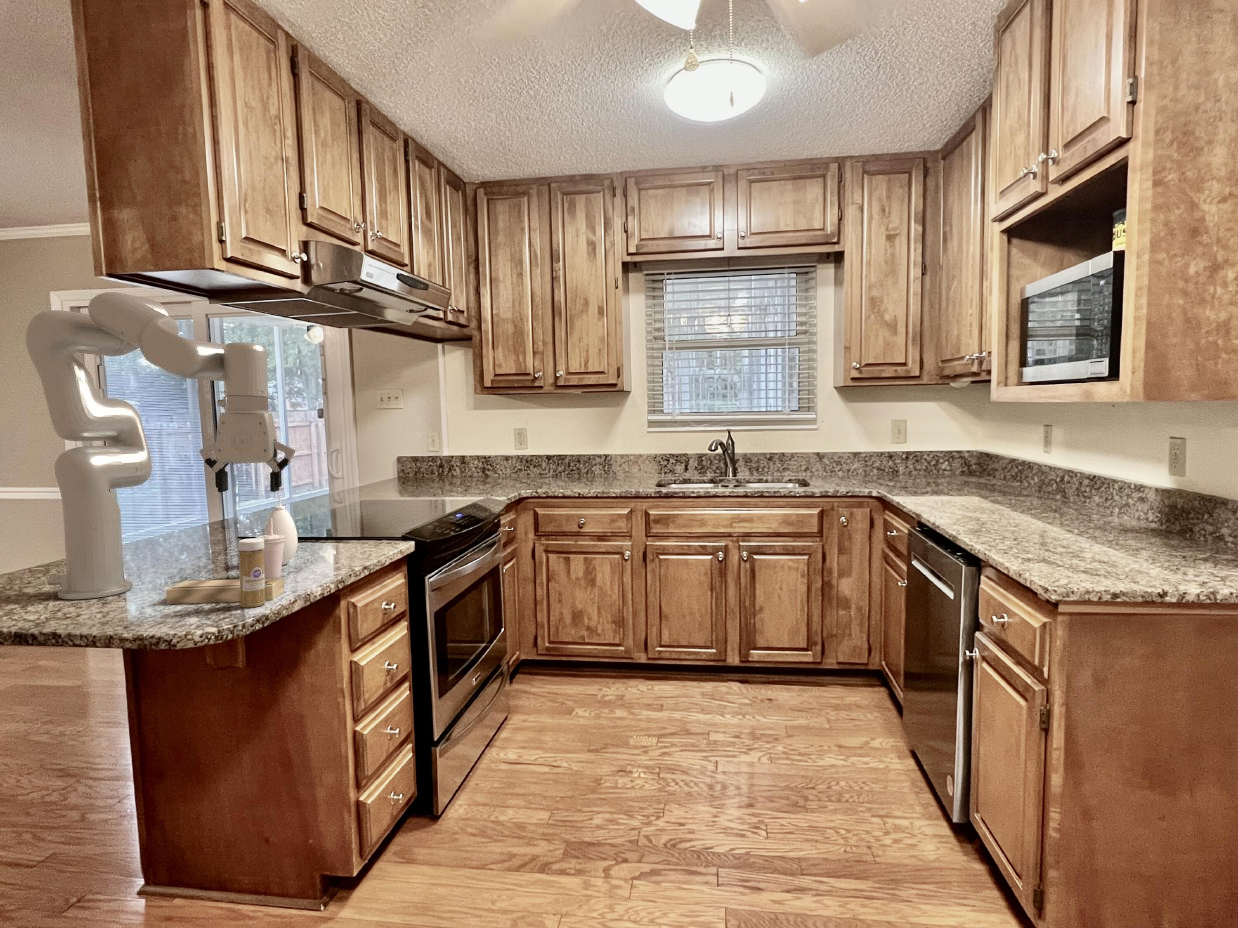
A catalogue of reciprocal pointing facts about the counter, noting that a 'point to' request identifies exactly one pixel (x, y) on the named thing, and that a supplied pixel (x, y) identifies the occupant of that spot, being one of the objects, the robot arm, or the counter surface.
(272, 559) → the smoothie
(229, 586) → the maple board
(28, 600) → the counter surface
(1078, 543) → the counter surface
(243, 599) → the sprinkles bottle
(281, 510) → the sauce bottle
